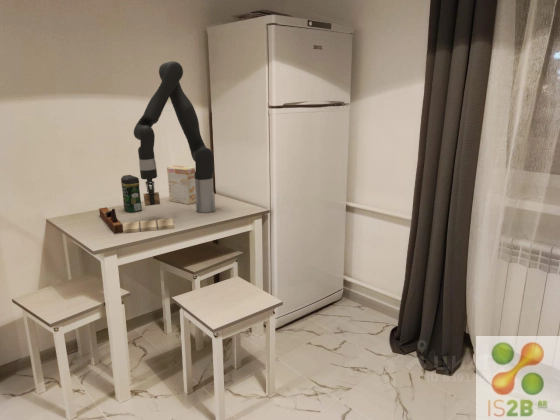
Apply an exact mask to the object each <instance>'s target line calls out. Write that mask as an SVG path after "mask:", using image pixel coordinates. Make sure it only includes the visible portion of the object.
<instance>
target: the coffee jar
mask: <svg viewBox="0 0 560 420" xmlns="http://www.w3.org/2000/svg"><path fill="white" fill-rule="evenodd" d="M120 182H121V183H120V184H121V190H122V199H123V203H122V204H123V209H124V210H125V211H126V212H128V213H137V212H140V211H142V209H143V207H142V206H143V205H142V201H141V192H140V179H139V177H137V176H134V175H131V174H127V175H126V174H125V175H123V176H122V177H121V178H120Z"/></svg>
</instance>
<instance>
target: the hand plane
mask: <svg viewBox="0 0 560 420" xmlns="http://www.w3.org/2000/svg"><path fill="white" fill-rule="evenodd" d="M98 210H99V211H98V213H99V217H100V218H101V219H102V220H103V222H104V223H105V224H106V225H107V227H108V228H109V229H110V230H111V232H113V234H116V235H117V234H122V233H123V225H124V224H123V223H122V222H121V221H119V219H118V218H117V214H116V208H112V209H111V210H110V209H109V208H108V207H100V208H98ZM123 234H124V233H123Z"/></svg>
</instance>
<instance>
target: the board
mask: <svg viewBox="0 0 560 420" xmlns="http://www.w3.org/2000/svg"><path fill="white" fill-rule="evenodd" d="M122 225H123V234H130V233H137V232H149V231H159V230H169V229H175V223H174V221H173V218H171V217H170V218H164V219H163V218H161V219H151V220H140V221H131V222H123V224H122Z"/></svg>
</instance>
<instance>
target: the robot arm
mask: <svg viewBox="0 0 560 420" xmlns="http://www.w3.org/2000/svg"><path fill="white" fill-rule="evenodd" d="M183 75H184V69H183V67H182V65H181V63H180V62H177V61H175V60H173V61H171V60H170V61H168V62H163V63H162V64H161V65H160V66H159V69H158V76H159V78H160V80H161V82H160V84H159V87H158V88H157V90H156V91H155V92H154V94H153V95H152V97H151V98H150V100H149V102H148V104H146V108H145V110H144V112H143V114H142V116H141V117H140V118H139V120H138V121H137V123H136V124H135V127H134V129H133V135H134V138H135V139H137V140H138V141H140V143H139V144H140V146H139V147H138V149H137V155H138V163H139V173H140V178H141V179H142V180H146V181H145V183H144V184H145V187H146V191H147V193H149V199H150V206H155V205H154V204H155V200H154V196H155V194H154V193H155V190H156V189H155V180H154V179H157V177H158V171H157V162H156V158H155V157H156V156H155V150H154V149H155V139H156V138H155V131H154V129H153V126H154V125H155V124H157V123H158V122H159V120H160V118H161V115H162V113H163V111H164V109H165V107H166V104H167V102H168V100H169V99H170V101H171V104H172V107H173V110H174V113H175V115H176V117H177V120H178V123H179V125H180V127H181V130H182V133H183V134H184V136H185V139H186V141H187V143H188V144H187V145H188V147H189V151H190V155H191V158H192V160H193V162H195V163H194V164H195V165H194V166H195V174H194V177H195V194H196V202H195V208H196V212H197V213H201V214H202V213H203V214H204V213H206V214H207V213H211V212H216V201H215V199H216V198H215V191H214V178H213V177H214V175H213V174H214V170H215V168H214V167H215V166H214V154H213V151H212V150H211V149H210V148H208V147H207V145H206V144H205V142H204V140H203V138H202V136H201V135H202V134H201V131H200V123H199V119H198V115H197V113H196V110H195V107H194V105H193V104H192V102H191V100H190V99H189V97H188V96H187V95H186V94H185V92H184V90H183V88H182V86H181V82H180V81H181V79H182V77H184V76H183ZM150 193H153V194H150Z"/></svg>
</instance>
